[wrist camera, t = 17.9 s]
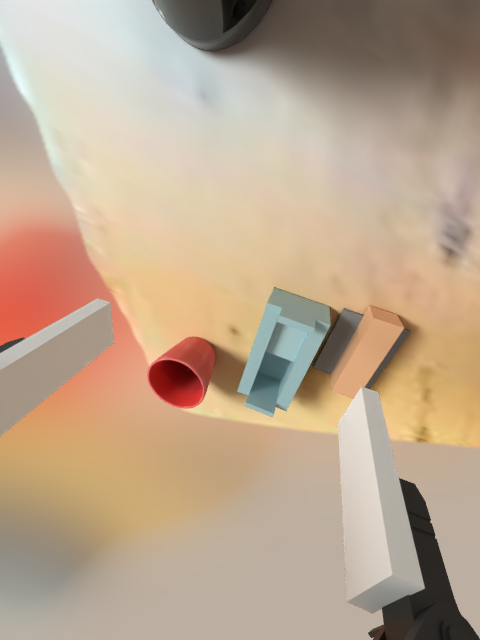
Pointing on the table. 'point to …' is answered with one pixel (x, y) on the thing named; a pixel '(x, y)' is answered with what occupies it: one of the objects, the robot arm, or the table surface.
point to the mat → (340, 340)
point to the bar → (365, 351)
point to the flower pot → (183, 373)
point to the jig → (283, 350)
